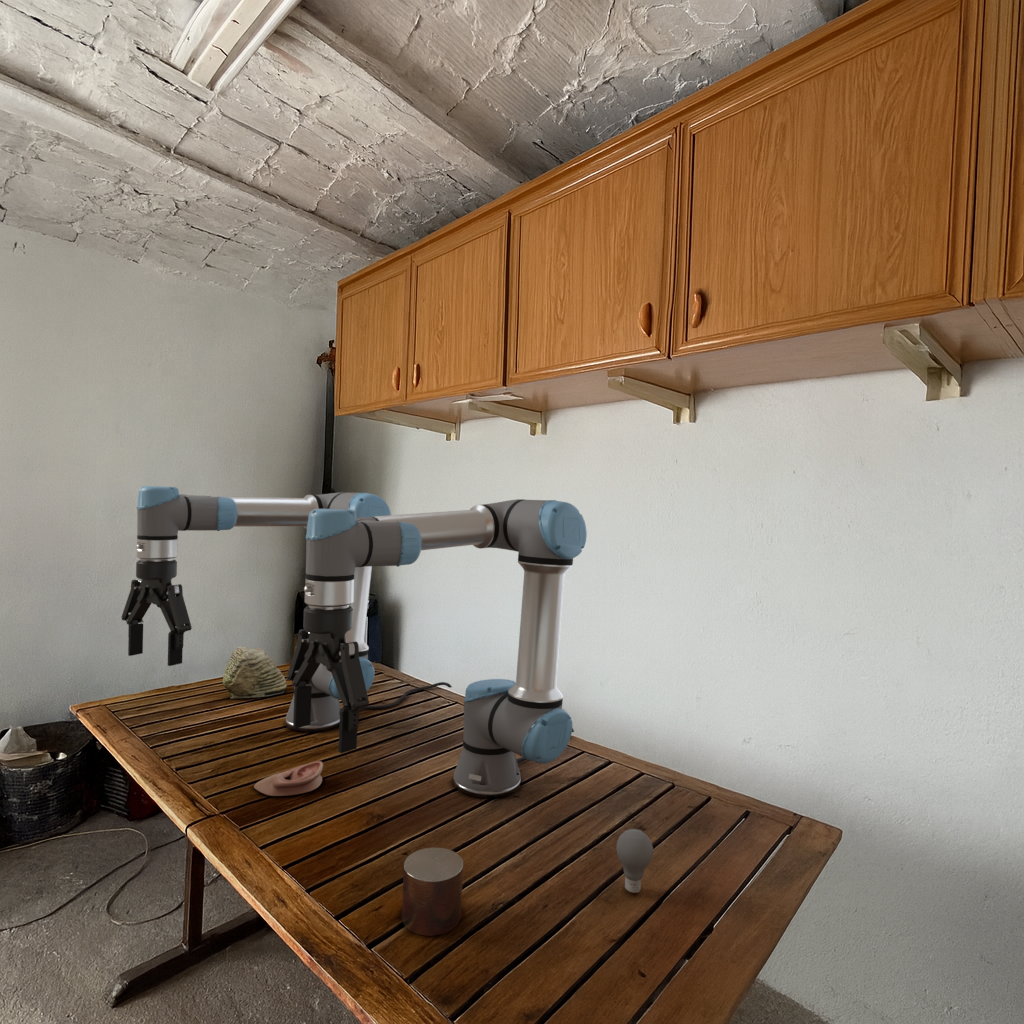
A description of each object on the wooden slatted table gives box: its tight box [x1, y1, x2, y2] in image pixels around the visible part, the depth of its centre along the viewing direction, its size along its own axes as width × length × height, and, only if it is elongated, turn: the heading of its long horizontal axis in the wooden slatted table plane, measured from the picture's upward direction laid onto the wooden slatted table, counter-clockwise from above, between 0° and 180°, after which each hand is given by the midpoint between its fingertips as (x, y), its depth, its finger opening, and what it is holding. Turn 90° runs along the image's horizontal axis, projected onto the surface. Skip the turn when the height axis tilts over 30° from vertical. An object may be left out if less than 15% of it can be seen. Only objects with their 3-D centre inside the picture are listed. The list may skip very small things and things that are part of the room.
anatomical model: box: [253, 760, 324, 797], centre depth 138 cm, size 13×4×12 cm
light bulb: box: [615, 828, 654, 894], centre depth 106 cm, size 6×6×10 cm
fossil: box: [222, 646, 288, 699], centre depth 198 cm, size 9×18×15 cm, turn 132°
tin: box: [401, 847, 464, 937], centre depth 97 cm, size 9×9×8 cm
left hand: (154, 659), depth 134 cm, fingers open, 13 cm apart
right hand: (323, 737), depth 101 cm, fingers open, 13 cm apart
